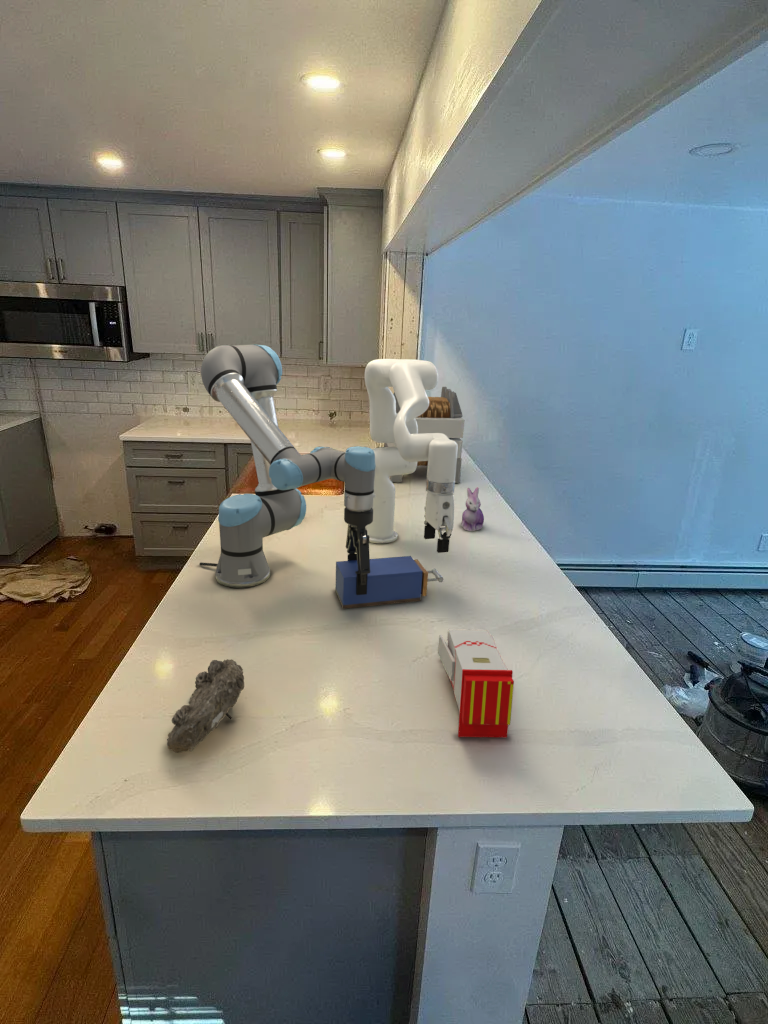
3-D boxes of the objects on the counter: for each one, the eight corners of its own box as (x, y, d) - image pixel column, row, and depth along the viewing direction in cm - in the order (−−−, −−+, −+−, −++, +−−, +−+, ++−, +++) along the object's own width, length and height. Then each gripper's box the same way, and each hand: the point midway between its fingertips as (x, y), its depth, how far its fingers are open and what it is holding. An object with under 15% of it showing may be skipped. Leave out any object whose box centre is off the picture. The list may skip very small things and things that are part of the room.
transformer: (382, 463, 289) (386, 382, 275) (445, 464, 293) (451, 384, 279) (390, 482, 257) (394, 392, 243) (460, 483, 261) (468, 394, 247)
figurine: (469, 533, 203) (473, 493, 198) (453, 523, 211) (457, 485, 206) (490, 530, 207) (495, 490, 202) (474, 520, 215) (478, 482, 210)
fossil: (192, 660, 117) (244, 628, 112) (224, 691, 120) (276, 661, 115) (142, 746, 98) (202, 712, 93) (182, 779, 101) (242, 748, 96)
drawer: (433, 579, 165) (435, 557, 163) (444, 594, 157) (447, 571, 154) (346, 587, 158) (347, 564, 156) (354, 603, 150) (354, 579, 148)
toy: (488, 613, 130) (523, 677, 101) (484, 667, 133) (517, 744, 104) (435, 612, 130) (455, 676, 101) (432, 666, 133) (451, 743, 103)
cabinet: (408, 584, 164) (410, 555, 161) (420, 600, 155) (422, 571, 152) (335, 590, 158) (335, 561, 155) (342, 608, 149) (343, 578, 146)
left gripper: (385, 522, 137) (381, 603, 144) (362, 493, 157) (360, 565, 165) (354, 523, 135) (352, 606, 142) (335, 494, 155) (334, 568, 163)
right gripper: (467, 495, 144) (461, 556, 150) (441, 476, 160) (436, 532, 165) (439, 496, 142) (434, 559, 148) (415, 477, 157) (412, 534, 163)
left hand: (356, 584), depth 153 cm, fingers closed on cabinet, 10 cm apart
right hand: (435, 545), depth 156 cm, fingers open, 9 cm apart
